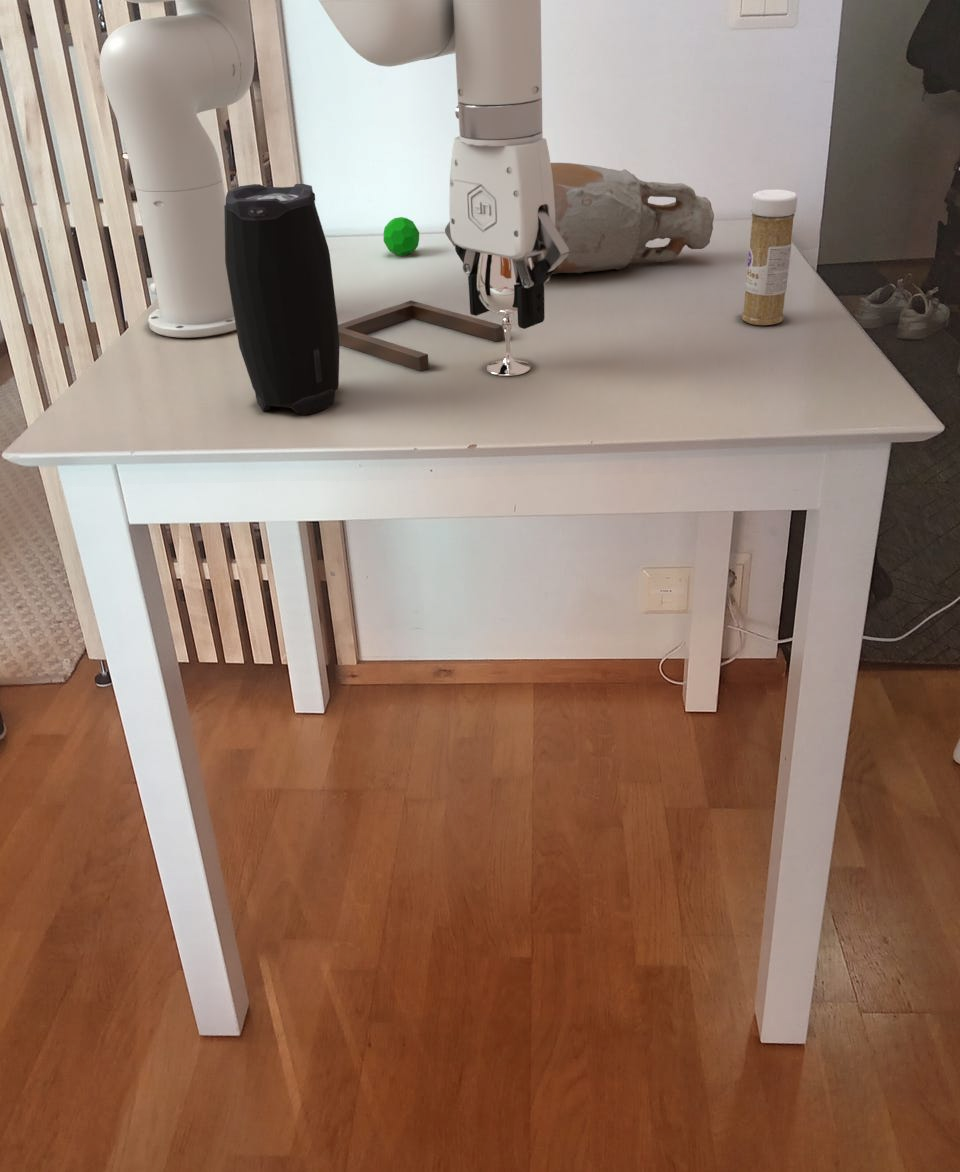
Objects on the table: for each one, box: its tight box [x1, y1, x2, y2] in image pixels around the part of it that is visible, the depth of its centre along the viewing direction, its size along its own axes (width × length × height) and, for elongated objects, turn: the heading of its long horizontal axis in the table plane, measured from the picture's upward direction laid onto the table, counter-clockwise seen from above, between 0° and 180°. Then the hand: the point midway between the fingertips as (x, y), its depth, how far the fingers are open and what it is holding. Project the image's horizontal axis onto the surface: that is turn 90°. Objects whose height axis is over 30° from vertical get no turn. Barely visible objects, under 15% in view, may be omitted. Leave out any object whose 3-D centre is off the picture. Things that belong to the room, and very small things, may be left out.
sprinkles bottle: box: [741, 189, 798, 326], centre depth 114 cm, size 5×5×14 cm
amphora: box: [532, 162, 715, 275], centre depth 134 cm, size 14×16×30 cm
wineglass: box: [476, 253, 534, 377], centre depth 105 cm, size 6×6×12 cm
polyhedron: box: [383, 216, 420, 257], centre depth 147 cm, size 5×5×5 cm
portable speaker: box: [224, 183, 341, 416], centre depth 98 cm, size 9×9×20 cm
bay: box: [338, 300, 505, 372], centre depth 117 cm, size 15×12×2 cm
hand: (506, 316), depth 106 cm, fingers closed on wineglass, 5 cm apart
